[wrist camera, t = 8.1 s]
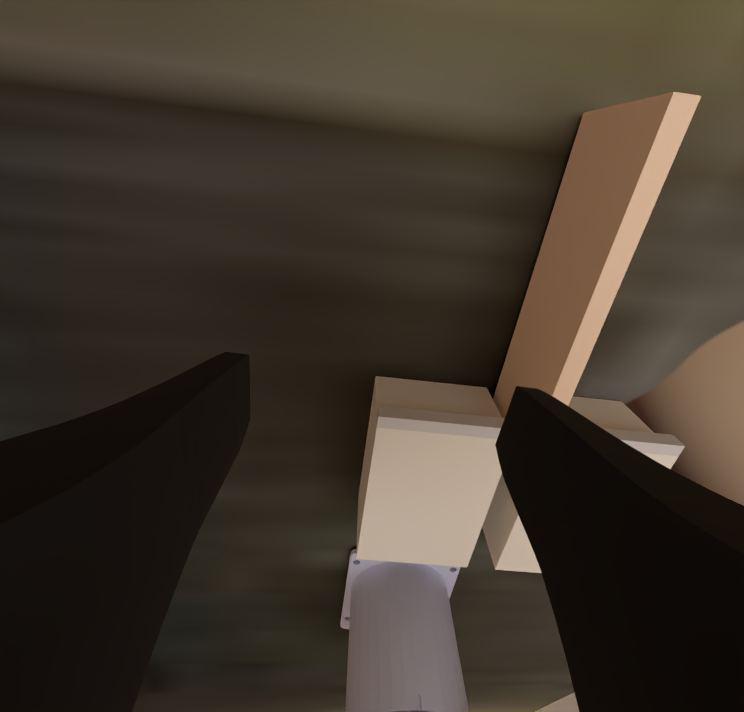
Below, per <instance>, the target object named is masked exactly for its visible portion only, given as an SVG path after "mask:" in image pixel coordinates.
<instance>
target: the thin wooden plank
mask: <svg viewBox="0 0 744 712" xmlns="http://www.w3.org/2000/svg"><path fill="white" fill-rule="evenodd" d="M700 98H701V96H698V95H691V94H685V93H678V92H671V93H667V94H662V95H658V96H654V97H649V98H645V99H641V100H636V101H632V102H628V103H623V104H619V105H615V106H610V107H606V108H602V109H597V110H593V111H589V112H584V113H583V116H582V119H581V122H580V125H579V128H578V132H577V135H576V138H575V141H574V144H573V147H572V150H571V154H570V157H569V160H568V163H567V166H566V169H565V173H564V176H563V179H562V182H561V185H560V188H559V192H558V195H557V198H556V201H555V204H554V207H553V210H552V214H551V217H550V220H549V223H548V226H547V229H546V233H545V236H544V239H543V242H542V245H541V248H540V251H539V255H538V258H537V261H536V264H535V267H534V270H533V274H532V277H531V280H530V283H529V286H528V289H527V293H526V296H525V299H524V302H523V305H522V308H521V311H520V315H519V318H518V321H517V324H516V327H515V330H514V334H513V337H512V340H511V343H510V346H509V349H508V353H507V356H506V359H505V362H504V365H503V368H502V371H501V375H500V378H499V381H498V384H497V387H496V390H495V394H494V397H493V401H494V403H495V405H496V407H497V409H498V411H499V413H500V415H501V416H502V418H505V416H506V413H507V410H508V408H509V405H510V402H511V399H512V396H513V394H514V391H515V388H516V386H520V387H528V388H537V389H540V390H542V391H544V392H546V393H548V394H549V395H551V396H553V397H554V398H556V399H558V400H559V401H561V402H563V403H564V404H566V405H567V406H568V405H569V403H570V401H571V398H572V396H573V394H574V392H575V389H576V387H577V385H578V382H579V380H580V378H581V375H582V373H583V371H584V368H585V366H586V364H587V361H588V359H589V357H590V354H591V352H592V350H593V347H594V345H595V343H596V340H597V338H598V336H599V333H600V331H601V329H602V326H603V324H604V322H605V319H606V317H607V315H608V312H609V310H610V308H611V305H612V303H613V301H614V298H615V296H616V294H617V291H618V289H619V287H620V284H621V282H622V280H623V277H624V275H625V273H626V270H627V268H628V266H629V263H630V261H631V259H632V256H633V254H634V252H635V249H636V247H637V245H638V242H639V240H640V238H641V235H642V233H643V231H644V228H645V226H646V224H647V221H648V219H649V217H650V214H651V212H652V210H653V207H654V205H655V203H656V200H657V198H658V196H659V193H660V191H661V189H662V186H663V184H664V182H665V180H666V177H667V175H668V173H669V170H670V168H671V166H672V163H673V161H674V159H675V156H676V154H677V152H678V149H679V147H680V145H681V142H682V140H683V138H684V135H685V133H686V131H687V128H688V126H689V124H690V121H691V119H692V117H693V114H694V112H695V110H696V107H697V105H698V103H699V100H700Z"/></svg>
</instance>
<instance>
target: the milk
mask: <svg viewBox="0 0 744 712" xmlns="http://www.w3.org/2000/svg"><path fill="white" fill-rule="evenodd" d="M535 712H579V708H578V704H577V700H576V696H575V692H574V693H572V694H570V695H568V696H566V697H564V698H562V699H560V700H558V701H555V702H553V703H551V704H549V705H547V706H545V707H543V708H541V709H539V710H537V711H535Z"/></svg>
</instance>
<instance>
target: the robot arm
mask: <svg viewBox="0 0 744 712" xmlns="http://www.w3.org/2000/svg"><path fill="white" fill-rule="evenodd" d="M249 421H250V367H249V355H246V354H238V353H229V352H225V353H222V354H220V355H217V356H215V357H213V358H211V359H209V360H207V361H205V362H203V363H201V364H199V365H197V366H195V367H193V368H191V369H189V370H187V371H186V372H184V373H182V374H180V375H178V376H176V377H174V378H172V379H170V380H168V381H166V382H164V383H161V384H159V385H157V386H155V387H152V388H150V389H148V390H146V391H144V392H141V393H139V394H137V395H135V396H133V397H130V398H128V399H126V400H124V401H121V402H119V403H116V404H114V405H111V406H109V407H106V408H104V409H101V410H98V411H95V412H93V413H90V414H87V415H84V416H82V417H79V418H76V419H73V420H70V421H67V422H64V423H61V424H58V425H54V426H51V427H48V428H44V429H41V430H37V431H34V432H31V433H27V434H24V435H21V436H17V437H14V438H10V439H7V440H4V441H0V712H132V710H133V707H134V704H135V701H136V698H137V695H138V692H139V689H140V686H141V683H142V681H143V678H144V675H145V672H146V669H147V666H148V663H149V660H150V658H151V655H152V652H153V649H154V646H155V643H156V640H157V637H158V635H159V632H160V629H161V626H162V624H163V621H164V618H165V616H166V613H167V610H168V607H169V605H170V602H171V599H172V597H173V594H174V591H175V589H176V586H177V583H178V581H179V578H180V576H181V573H182V570H183V568H184V565H185V563H186V560H187V558H188V555H189V552H190V550H191V547H192V545H193V542H194V540H195V538H196V536H197V534H198V532H199V529H200V527H201V525H202V523H203V521H204V519H205V517H206V515H207V513H208V511H209V509H210V507H211V505H212V504H213V502H214V500H215V498H216V496H217V494H218V492H219V490H220V488H221V486H222V484H223V482H224V480H225V478H226V476H227V474H228V472H229V470H230V468H231V466H232V464H233V462H234V460H235V458H236V456H237V454H238V452H239V450H240V447H241V444H242V441H243V439H244V436H245V433H246V430H247V427H248V424H249ZM495 446H496V451H497V455H498V459H499V463H500V467H501V471H502V475H503V478H504V481H505V483H506V486H507V488H508V491H509V493H510V496H511V498H512V501H513V503H514V506H515V508H516V510H517V513H518V515H519V518H520V520H521V522H522V525H523V527H524V530H525V532H526V534H527V537H528V539H529V542H530V544H531V546H532V549H533V551H534V554H535V556H536V559H537V562H538V564H539V567H540V570H541V572H542V575H543V579H544V582H545V585H546V589H547V592H548V595H549V598H550V602H551V605H552V608H553V612H554V615H555V619H556V622H557V626H558V630H559V633H560V637H561V641H562V644H563V648H564V652H565V655H566V659H567V663H568V667H569V671H570V675H571V679H572V684H573V688H574V692H575V696H576V700H577V704H578V708H579V712H744V506H743V505H741V504H738V503H736V502H734V501H732V500H730V499H727V498H725V497H723V496H721V495H719V494H717V493H715V492H713V491H711V490H709V489H707V488H705V487H703V486H701V485H699V484H697V483H695V482H694V481H691V480H690V479H688V478H686V477H684V476H682V475H680V474H678V473H676V472H674V471H672V470H671V469H669V468H667V467H665V466H664V465H662V464H660V463H658V462H656V461H655V460H653V459H651V458H650V457H648V456H646V455H645V454H643V453H641V452H640V451H638V450H636V449H635V448H633V447H631V446H629V445H628V444H626V443H625V442H623V441H621V440H620V439H618V438H617V437H615V436H613V435H612V434H610V433H609V432H607V431H606V430H604V429H602V428H601V427H599V426H598V425H596V424H595V423H593V422H592V421H590V420H589V419H587V418H586V417H584V416H583V415H581V414H580V413H578V412H576V411H575V410H573V409H572V408H570V407H569V406H567V405H566V404H564V403H563V402H561V401H559V400H558V399H556V398H554V397H553V396H551V395H549V394H548V393H546V392H544V391H542V390H540V389H537V388H528V387H520V386H516V388H515V391H514V394H513V396H512V399H511V402H510V405H509V408H508V410H507V413H506V416H505V419H504V422H503V424H502V427H501V430H500V433H499V436H498V438H497V441H496V444H495ZM460 568H461V567H455V566H442V565H429V564H416V563H403V562H389V561H376V560H363V559H356V549H354V550H352V551H351V553H350V559H349V566H348V573H347V580H346V587H345V594H344V601H343V608H342V614H341V622H340V626H341V627H342V628H344V629H349V646H348V668H347V689H346V711H345V712H469V710H468V704H467V699H466V693H465V687H464V682H463V676H462V670H461V665H460V659H459V654H458V648H457V642H456V637H455V631H454V625H453V620H452V614H451V609H450V603H449V599H450V596H451V593H452V590H453V587H454V585H455V582H456V579H457V576H458V573H459V570H460Z"/></svg>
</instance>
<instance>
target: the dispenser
mask: <svg viewBox="0 0 744 712" xmlns="http://www.w3.org/2000/svg"><path fill="white" fill-rule="evenodd" d="M568 406H569V407H570V408H572V409H573V410H575V411H576V412H578V413H580V414H581V415H583V416H584V417H586V418H587V419H589V420H590V421H592V422H593V423H595V424H596V425H598V426H599V427H601V428H602V429H604V430H606V431H607V432H609V433H610V434H612V435H613V436H615V437H617V438H618V439H620V440H621V441H623V442H625V443H626V444H628V445H629V446H631V447H633V448H635V449H636V450H638V451H640V452H641V453H643V454H645V455H646V456H648V457H650V458H651V459H653V460H655V461H656V462H658V463H660V464H662V465H664V466H665V467H667V468H669V469H671V468H672V466H673V464H674V462H675V461H676V460H677V458H678V456H679V455H680V453H681V452H682V450H683V449H684V447H685V446H684V445H683V444H682V443H681V442H680V441H679V440H677V439H676V438H675V437H674V436H673V435H668V434H658V433H654V432H652V431H651V429H649V428H648V427H647V426H646V425H645V424H644V423H643V422H642V421H641V420H640V419H639V418H638V417H637V416H636V415H635V414H634V413H633V412H632V411H631V410H630V409H629V408H628V407H627V406H625V405H624V404H623V403H622V402H621V401H613V400H603V399H593V398H584V397H574V396H572V398H571V401H570V403H569V405H568ZM504 419H505V418H502V416H501V415H500V413H499V411H498V409H497V407H496V405H495V403H494V401H493V399H492V397H491V395H490V393H489V391H488V389H487V387H477V386H468V385H458V384H448V383H438V382H429V381H419V380H409V379H400V378H390V377H380V376H376V377H375V384H374V391H373V398H372V405H371V412H370V418H369V425H368V432H367V439H366V446H365V453H364V460H363V467H362V474H361V481H360V488H359V495H358V522H357V548H356V559H363V560H376V561H389V562H403V563H416V564H429V565H442V566H455V567H467V566H468V564H469V561H470V558H471V555H472V553H473V550H474V547H475V545H476V542H477V539H478V536H479V534H480V531H481V528H483V531H484V535H485V538H486V541H487V544H488V548H489V551H490V554H491V558H492V561H493V564H494V567H495V570H508V571H522V572H535V573H542V572H541V570H540V567H539V564H538V562H537V559H536V556H535V554H534V551H533V549H532V546H531V544H530V542H529V539H528V537H527V534H526V532H525V530H524V527H523V525H522V522H521V520H520V518H519V515H518V513H517V510H516V508H515V506H514V503H513V501H512V498H511V496H510V493H509V491H508V488H507V486H506V483H505V481H504V478H503V475H502V471H501V467H500V463H499V459H498V455H497V451H496V446H495V444H496V441H497V438H498V436H499V433H500V430H501V427H502V424H503V422H504Z"/></svg>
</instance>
